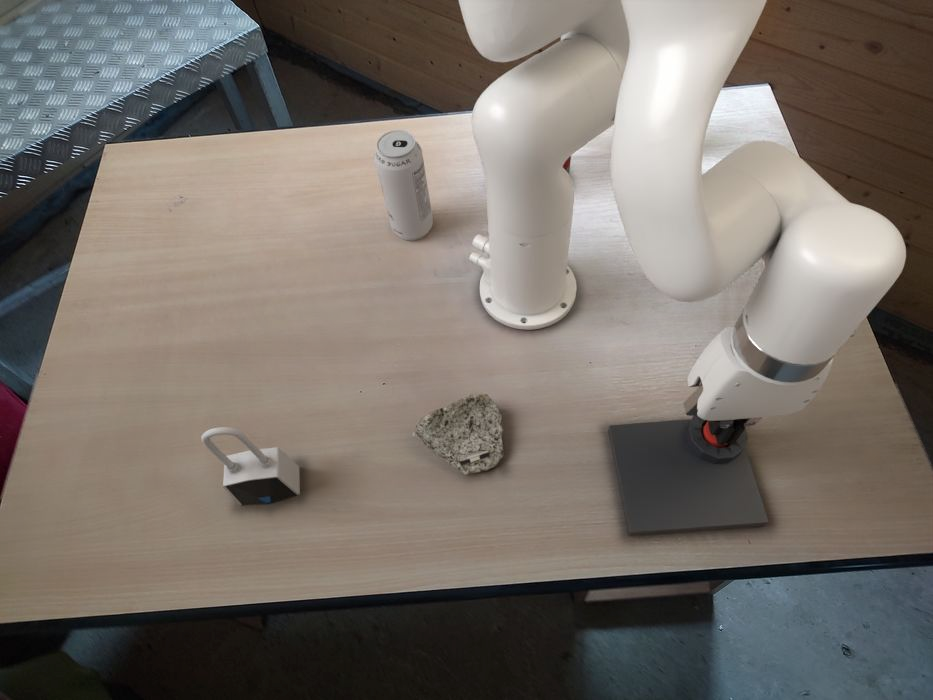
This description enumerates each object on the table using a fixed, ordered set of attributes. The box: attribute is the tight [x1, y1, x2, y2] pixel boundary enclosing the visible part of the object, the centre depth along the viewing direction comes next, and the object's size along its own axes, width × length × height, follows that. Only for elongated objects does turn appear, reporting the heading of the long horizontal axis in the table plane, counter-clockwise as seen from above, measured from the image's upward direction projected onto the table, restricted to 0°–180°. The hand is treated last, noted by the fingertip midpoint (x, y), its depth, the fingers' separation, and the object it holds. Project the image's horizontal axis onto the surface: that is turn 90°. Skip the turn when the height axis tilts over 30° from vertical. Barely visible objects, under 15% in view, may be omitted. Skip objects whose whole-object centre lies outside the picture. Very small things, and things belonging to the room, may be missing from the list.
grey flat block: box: [607, 416, 770, 537], centre depth 66 cm, size 14×12×3 cm
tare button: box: [701, 421, 728, 448], centre depth 67 cm, size 3×3×2 cm
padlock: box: [200, 426, 301, 506], centre depth 63 cm, size 7×4×15 cm, turn 99°
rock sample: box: [412, 392, 506, 476], centre depth 69 cm, size 10×8×9 cm
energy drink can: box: [374, 129, 434, 241], centre depth 83 cm, size 6×6×15 cm
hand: (721, 431), depth 66 cm, fingers closed
